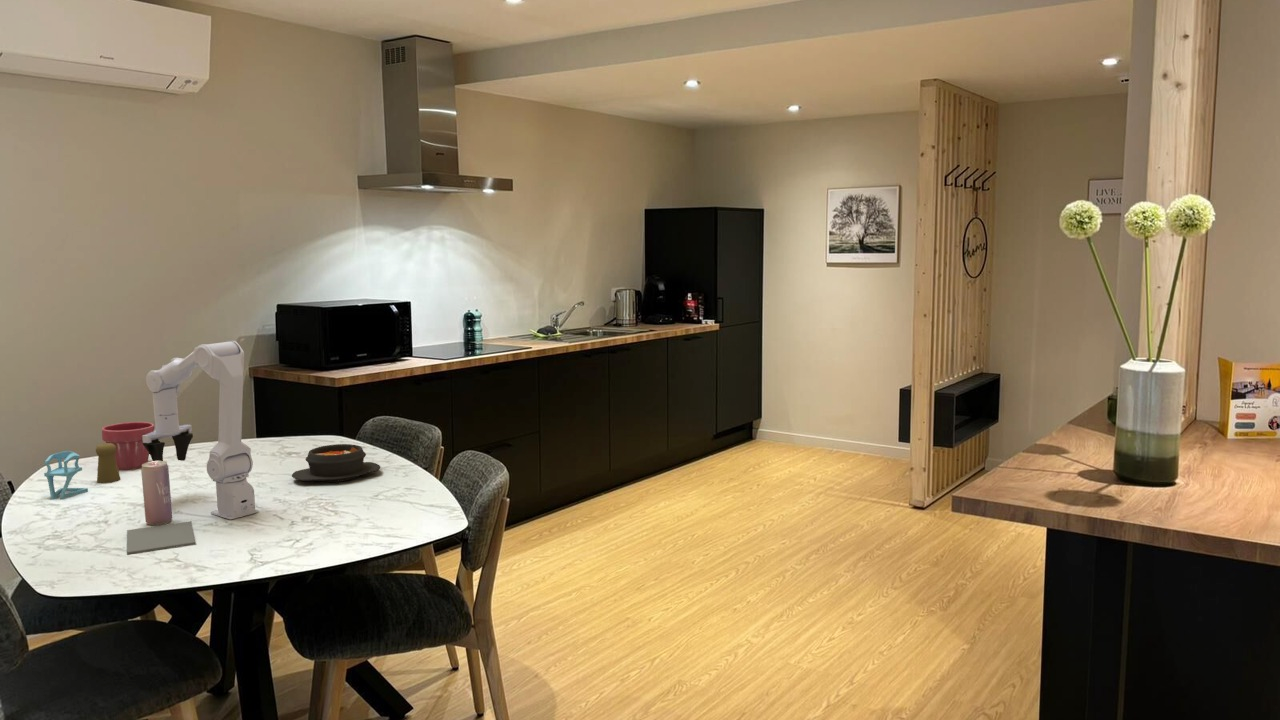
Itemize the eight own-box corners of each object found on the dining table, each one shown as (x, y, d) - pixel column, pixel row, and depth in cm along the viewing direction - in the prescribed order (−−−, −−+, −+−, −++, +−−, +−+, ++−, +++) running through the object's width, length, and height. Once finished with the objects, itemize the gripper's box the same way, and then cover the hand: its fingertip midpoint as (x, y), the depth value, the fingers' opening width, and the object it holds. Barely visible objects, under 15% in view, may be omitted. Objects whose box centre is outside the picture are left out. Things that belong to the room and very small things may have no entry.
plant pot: (166, 461, 294) (163, 421, 292) (138, 472, 280) (135, 431, 278) (124, 460, 295) (121, 420, 294) (94, 471, 282) (90, 430, 280)
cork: (91, 482, 269) (88, 445, 267) (108, 477, 275) (105, 441, 273) (109, 483, 268) (105, 446, 266) (125, 478, 273) (122, 442, 272)
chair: (42, 499, 253) (37, 456, 251) (61, 490, 261) (57, 449, 259) (69, 499, 252) (65, 456, 250) (88, 490, 260) (84, 449, 259)
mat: (127, 532, 224) (127, 530, 224) (191, 523, 231) (191, 521, 231) (126, 554, 208) (126, 552, 208) (195, 544, 215) (195, 542, 215)
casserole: (372, 465, 287) (371, 438, 286) (387, 478, 271) (386, 450, 270) (287, 475, 275) (285, 448, 274) (297, 490, 259) (295, 461, 258)
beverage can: (163, 517, 236) (158, 459, 234) (177, 520, 233) (173, 462, 231) (140, 523, 231) (135, 464, 229) (154, 527, 228) (149, 467, 226)
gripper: (176, 408, 256) (180, 456, 258) (131, 418, 242) (136, 468, 244) (196, 409, 254) (200, 458, 255) (152, 419, 240) (157, 470, 242)
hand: (170, 463), depth 250 cm, fingers open, 7 cm apart
